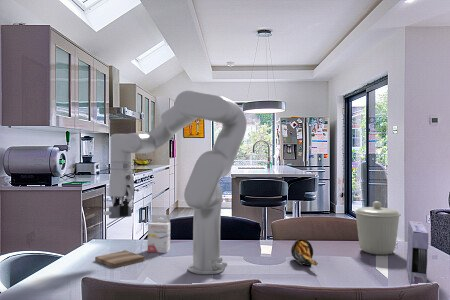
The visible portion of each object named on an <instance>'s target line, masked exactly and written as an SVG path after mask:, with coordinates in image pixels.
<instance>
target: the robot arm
mask: <svg viewBox="0 0 450 300" xmlns="http://www.w3.org/2000/svg"><path fill="white" fill-rule="evenodd" d="M160 118H161V119H160V123H159V124H158V125H157V126H156V127H155V128H153V129H152V130H151V131H150V130H149V132H146V133H143V132H131V133H113V134H111V136H110V171H109V172H110V174H109V184H108V185H109V187H108V188H109V190H108V191H109V197H110V199H111V201H112V202H111V204H112V206H119V205H121V206H120V216H121V217H122V216H128V205H130V202H131V201H132V199H133V197H134V194H135V191H134V189H135V187H134V177H133V172H132V154H150V153H153V152H154V151H156V150H158V149H159V148H161V147H162V146H164V145H165V144H167V143H168V142H169V141H170V140H171V139H172V138H173V137H174V136H175V134H176V133H178V132H179V131H181V130H183V129H184V128H185V127H187V126H188V125H190V124H191V123H193V122H195V121H197V119H200V120H205V121H209V122H210V121H211V122H215V123H219V124H221V125H222V126H221V128H222V129H221V130H220V131H219V133H218V134H217V137H216V139H215V142H214V145H213V146H212V148H211V150H207V151H205V152H203V153H202V154H201V155H200V156H199V157H198V158H197V160H196V162H195V164H194V166H193V169H192V171H191V173H190V176H189V179H188V181H187V183H186V185H185V186H186V187H185V188H184V193H183V197H184V201H185V203H186V205H187V206H188V207H189V208H191V209H193V210H194V211H193V221H192V222H193V223H192V250H193V251H192V262H191V263H190V264H189V265H188V271H189V272H191V273H192V274H193V273H194V274H196V275H214V274H215V275H216V274H220V273H222V272H224V271H225V269H226V268H227V267H228V263H227V262H224V261H223V256H221V217H222V214H221V213H222V203H223V189H222V187H221V185H220V184H219V183H220V180H221V179H222V178H225V177H226V176H228V175H229V173H230V171H231V170H232V167H233V164H234V162H235V159H236V158H237V155H238V152H239V150H240V146H241V145H242V142H243V140H244V137H245V136H246V135H245V134H246V131H247V127H248V126H247V118H246V115H245V113H244V111H243V109H242V108H241V107H240V106H239V105H238V104H237V103H236V102H234V101H233V100H232V99H231V100H230V99H229V98H227V97H224V96H220V95H215V94H210V93H205V92H198V91H193V90H184V91H181V92H180V93H178V95H176V97H175V99H174V105H173V106H171V107H170V108H168V109H167V110H165V111H164V112H162V113H161V115H160Z"/></svg>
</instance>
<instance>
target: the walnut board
mask: <svg viewBox="0 0 450 300" xmlns="http://www.w3.org/2000/svg"><path fill="white" fill-rule="evenodd" d="M145 257H146V256H144V255H141V254H138V253H135V252H131V251H128V250H122V251H117V252H113V253H108V254H102V255H98V256H97V255H96V256H95V259H94V260H95V262H97V263H100V264H103V265H105V266H107V267H111V268H113V269H115V268H121V267H124V266H128V265H133V264H136V263H137V264H138V263H141V262H145V260H146V259H145Z"/></svg>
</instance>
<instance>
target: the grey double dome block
mask: <svg viewBox="0 0 450 300" xmlns="http://www.w3.org/2000/svg"><path fill="white" fill-rule="evenodd" d="M120 206H121V205H119V206H113V205H112V206H108V211H103V212H102V215H104V216H108V218H109V219H121V218H123V219H124V218H130V217H132V214H133V212H132V210H133V209H132V206H133V205H132V204H129V205H128V216H122V217H121V216H120Z"/></svg>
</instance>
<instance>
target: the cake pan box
mask: <svg viewBox="0 0 450 300" xmlns="http://www.w3.org/2000/svg"><path fill="white" fill-rule="evenodd" d="M407 226H408V229H407V249H406V251H407V253H406V274H407V278H408V282H409V285H410V284H418V283H426V284H427V281H428V280H427V279H428V278H427V276H428V275H427V271H428V270H427V269H428V249H429V232H428V230H427V228H426V226H425V225H424V223H423V222H421V221H416V220H415V221H413V220H409V221H408V225H407Z"/></svg>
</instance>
